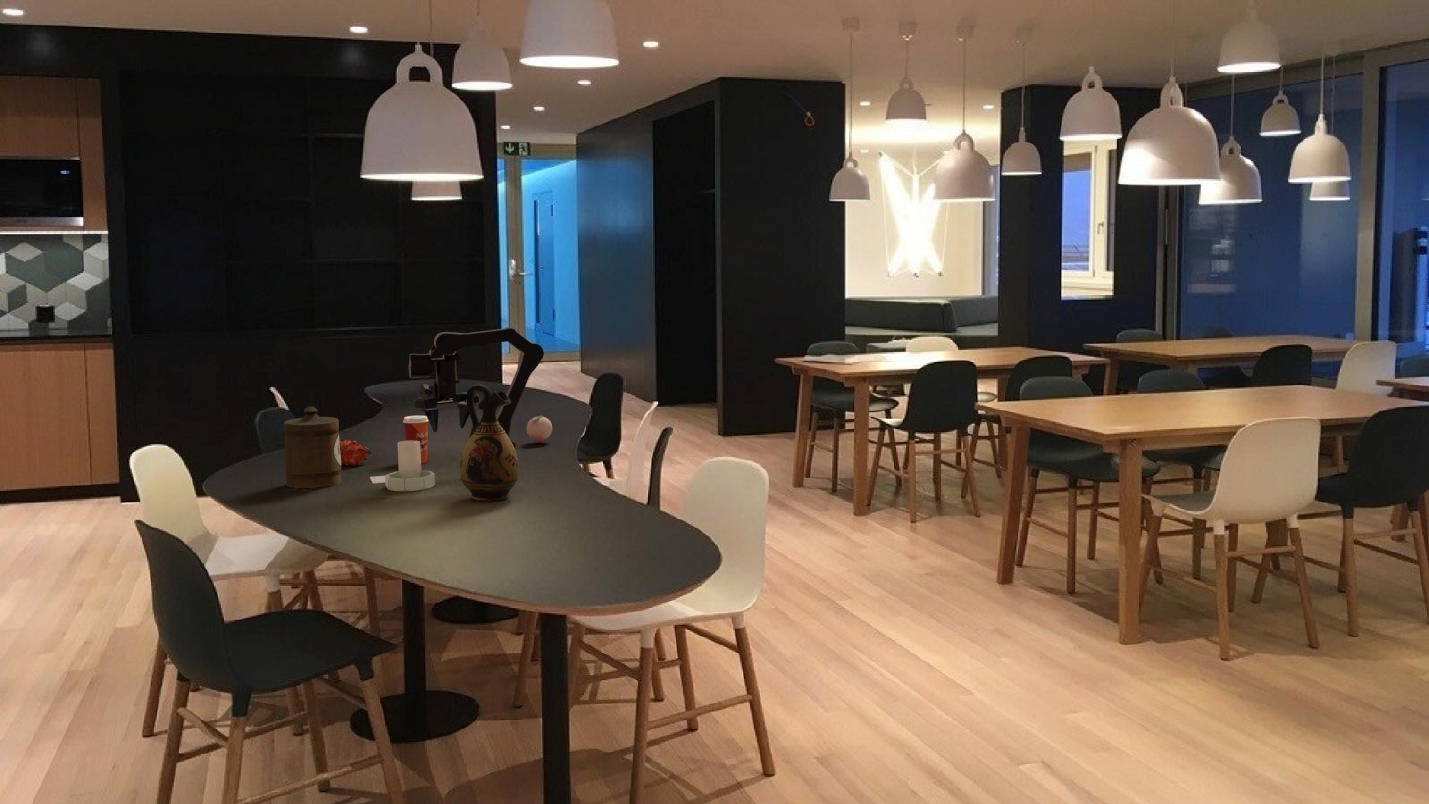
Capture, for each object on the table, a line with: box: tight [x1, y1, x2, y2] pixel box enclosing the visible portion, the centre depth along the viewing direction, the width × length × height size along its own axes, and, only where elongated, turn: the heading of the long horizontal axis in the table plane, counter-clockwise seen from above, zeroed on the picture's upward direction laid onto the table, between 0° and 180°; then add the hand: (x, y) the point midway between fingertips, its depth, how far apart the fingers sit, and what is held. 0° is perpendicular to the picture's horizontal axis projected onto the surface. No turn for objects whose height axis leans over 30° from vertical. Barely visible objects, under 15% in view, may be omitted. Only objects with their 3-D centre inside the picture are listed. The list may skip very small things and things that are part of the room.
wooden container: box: [283, 406, 343, 489], centre depth 349 cm, size 15×15×22 cm
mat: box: [369, 475, 386, 484], centre depth 355 cm, size 10×10×1 cm
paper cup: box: [402, 415, 429, 464], centre depth 381 cm, size 8×8×14 cm
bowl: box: [384, 469, 436, 492], centre depth 343 cm, size 13×13×4 cm
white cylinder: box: [397, 440, 422, 479], centre depth 343 cm, size 6×6×12 cm
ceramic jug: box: [459, 383, 520, 503], centre depth 327 cm, size 17×15×30 cm
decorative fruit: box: [526, 413, 553, 444], centre depth 413 cm, size 9×8×10 cm
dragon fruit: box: [339, 439, 372, 467], centre depth 379 cm, size 8×8×12 cm
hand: (448, 430), depth 360 cm, fingers open, 9 cm apart
